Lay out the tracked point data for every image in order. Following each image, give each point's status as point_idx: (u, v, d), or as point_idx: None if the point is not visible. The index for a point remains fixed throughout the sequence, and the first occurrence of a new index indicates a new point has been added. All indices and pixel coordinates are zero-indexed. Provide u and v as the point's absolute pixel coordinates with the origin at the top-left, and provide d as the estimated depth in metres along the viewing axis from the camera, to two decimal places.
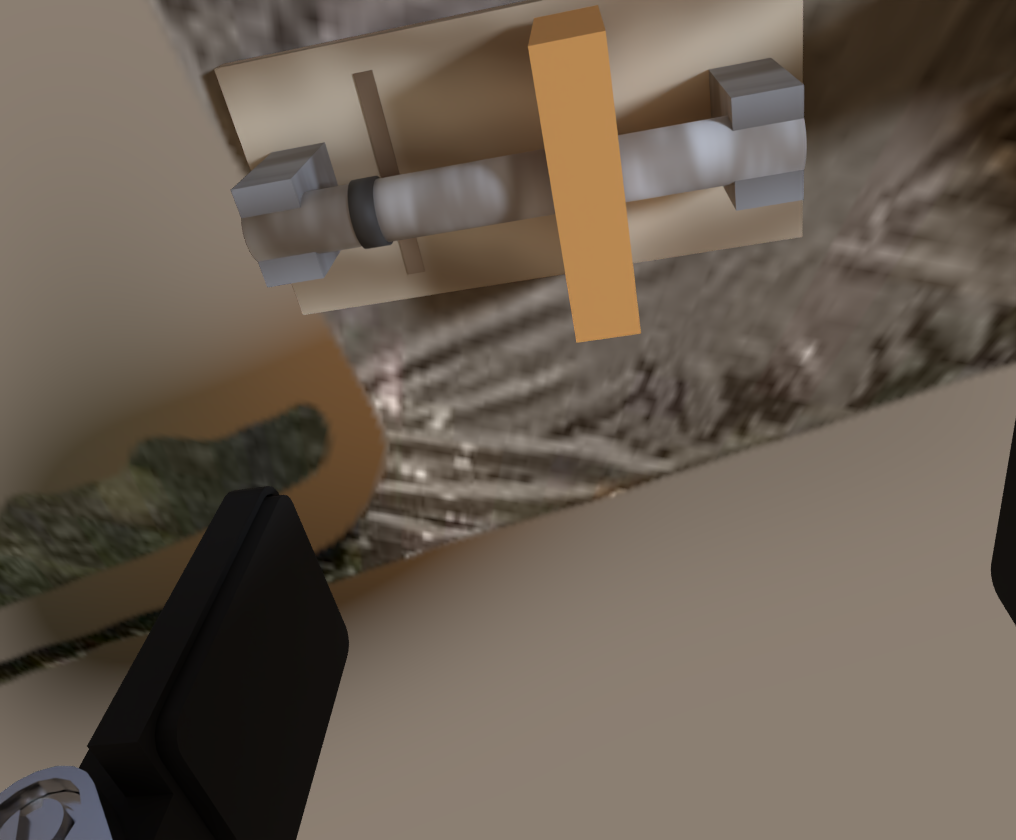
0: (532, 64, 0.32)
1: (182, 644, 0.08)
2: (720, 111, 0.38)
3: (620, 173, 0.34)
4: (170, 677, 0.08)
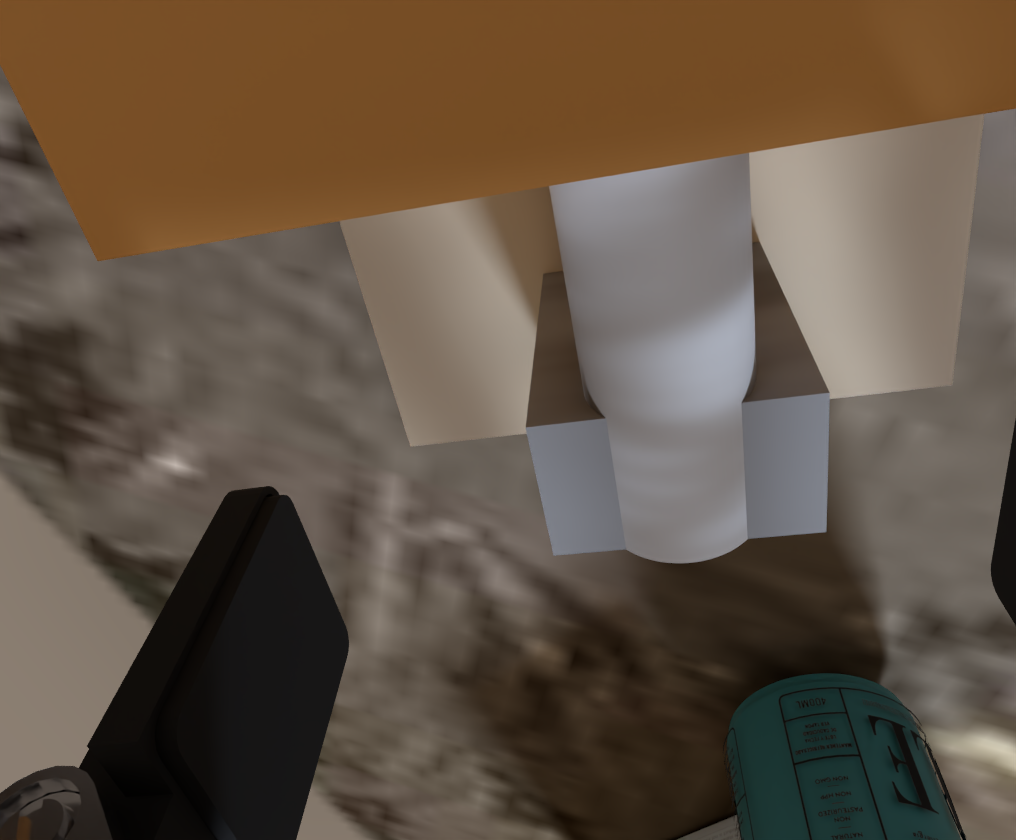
0: None
1: (182, 644, 0.08)
2: None
3: (760, 141, 0.08)
4: (170, 677, 0.08)
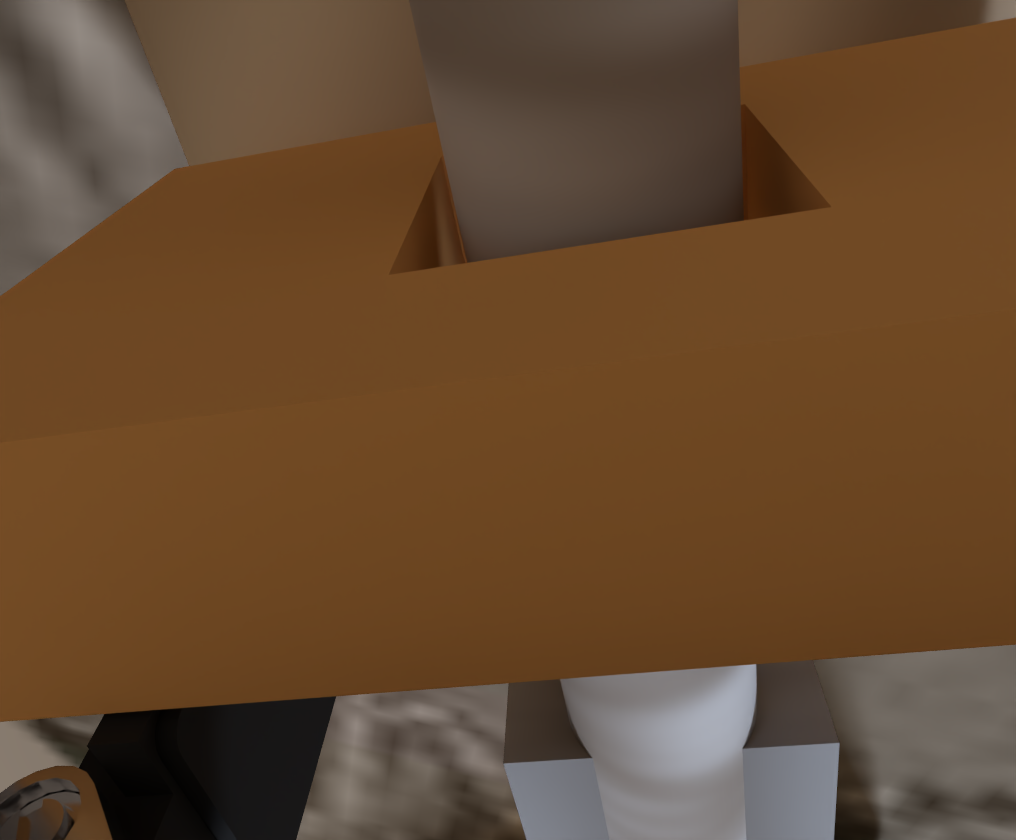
0: None
1: None
2: None
3: (783, 654, 0.07)
4: None
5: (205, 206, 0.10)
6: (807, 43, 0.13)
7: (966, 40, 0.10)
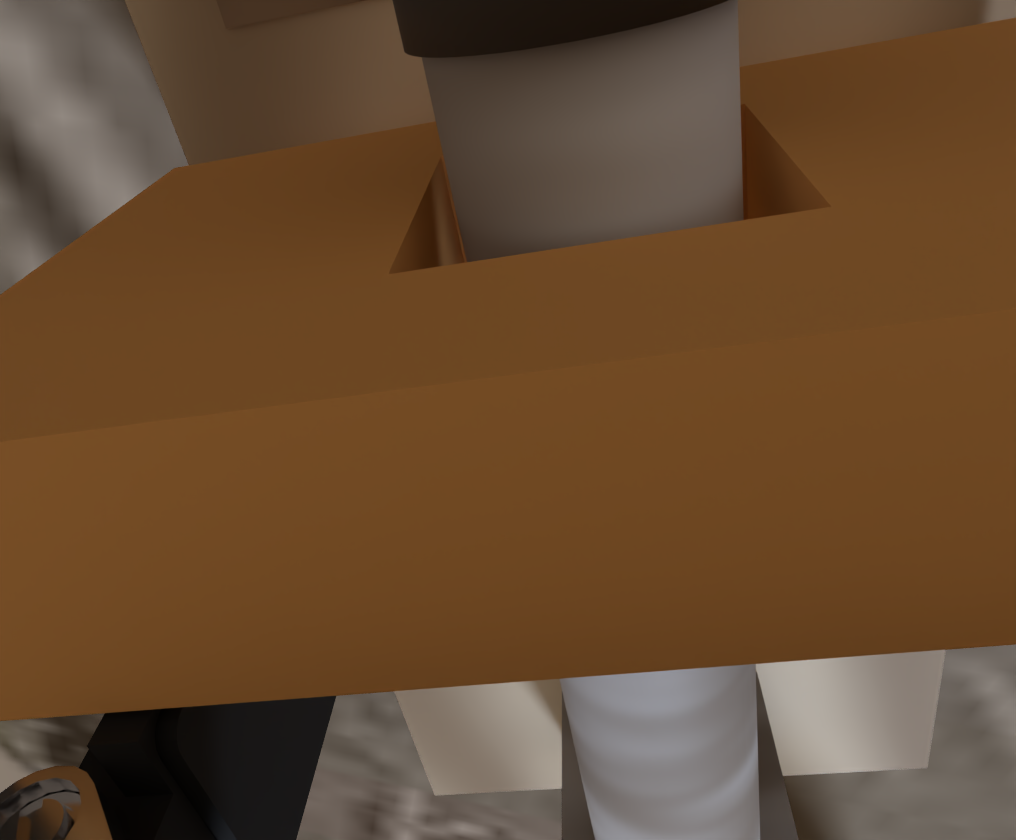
0: None
1: None
2: None
3: (782, 653, 0.07)
4: None
5: (205, 205, 0.10)
6: None
7: (966, 40, 0.10)
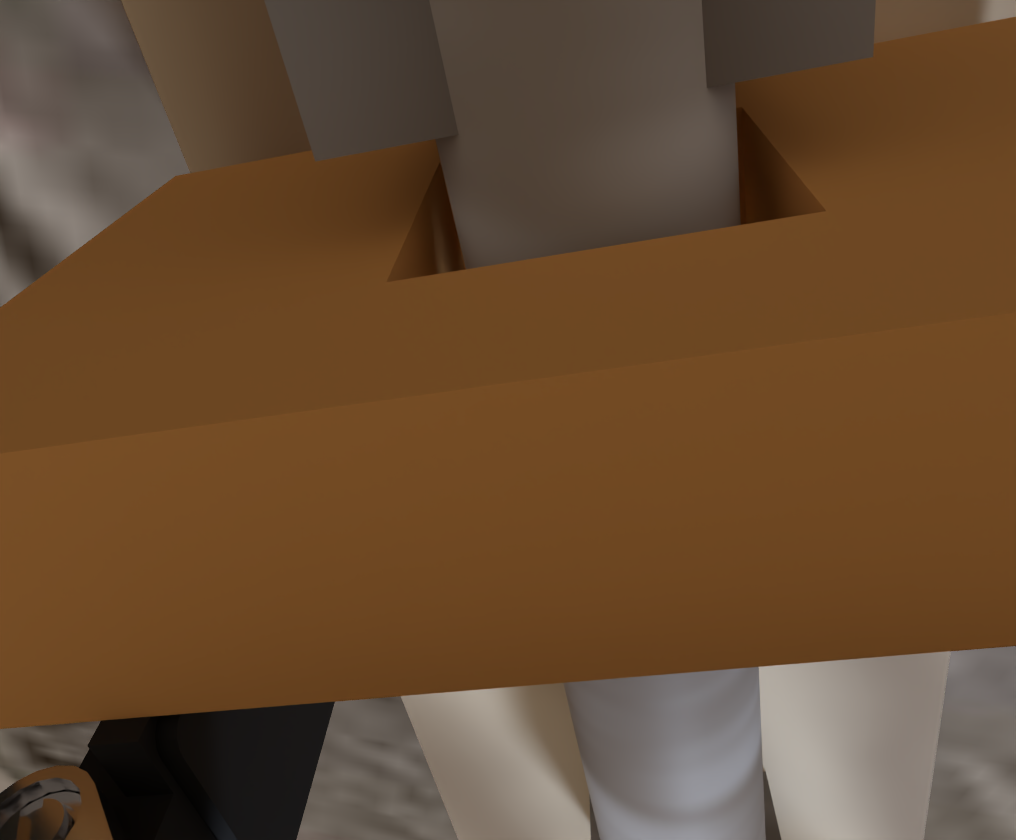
0: None
1: None
2: None
3: (782, 657, 0.07)
4: None
5: (205, 214, 0.11)
6: None
7: (963, 41, 0.10)
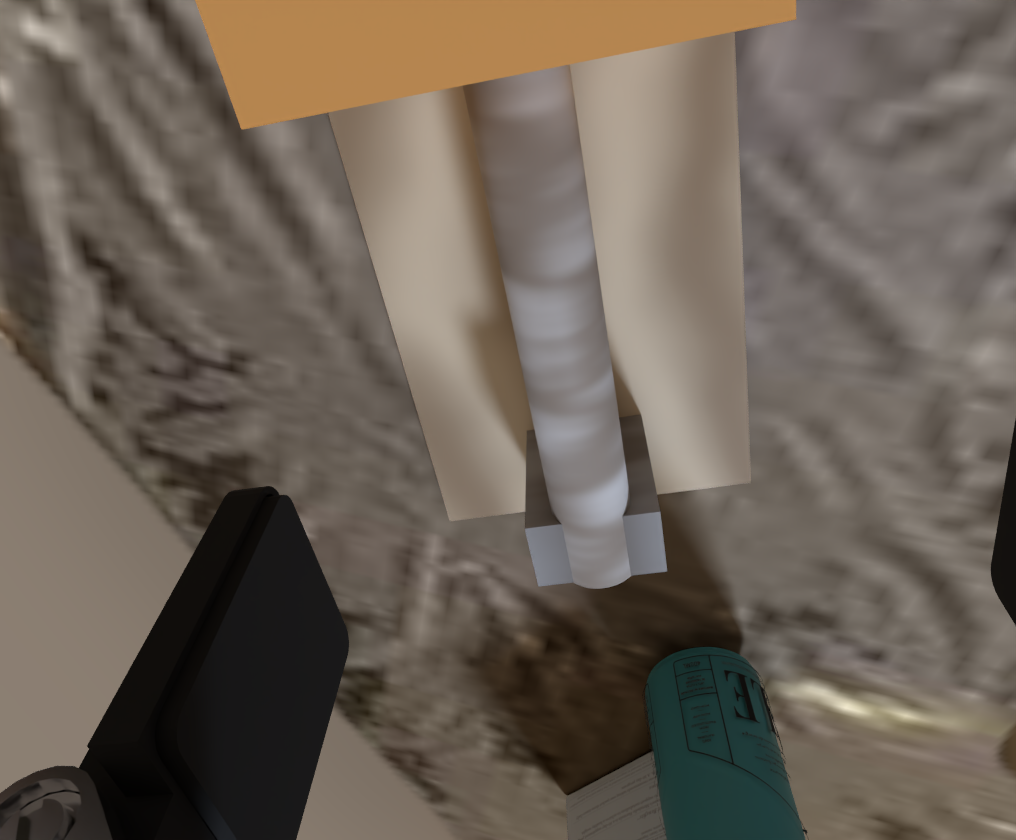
0: None
1: (182, 644, 0.08)
2: None
3: (550, 63, 0.19)
4: (170, 676, 0.08)
5: None
6: (645, 225, 0.30)
7: None
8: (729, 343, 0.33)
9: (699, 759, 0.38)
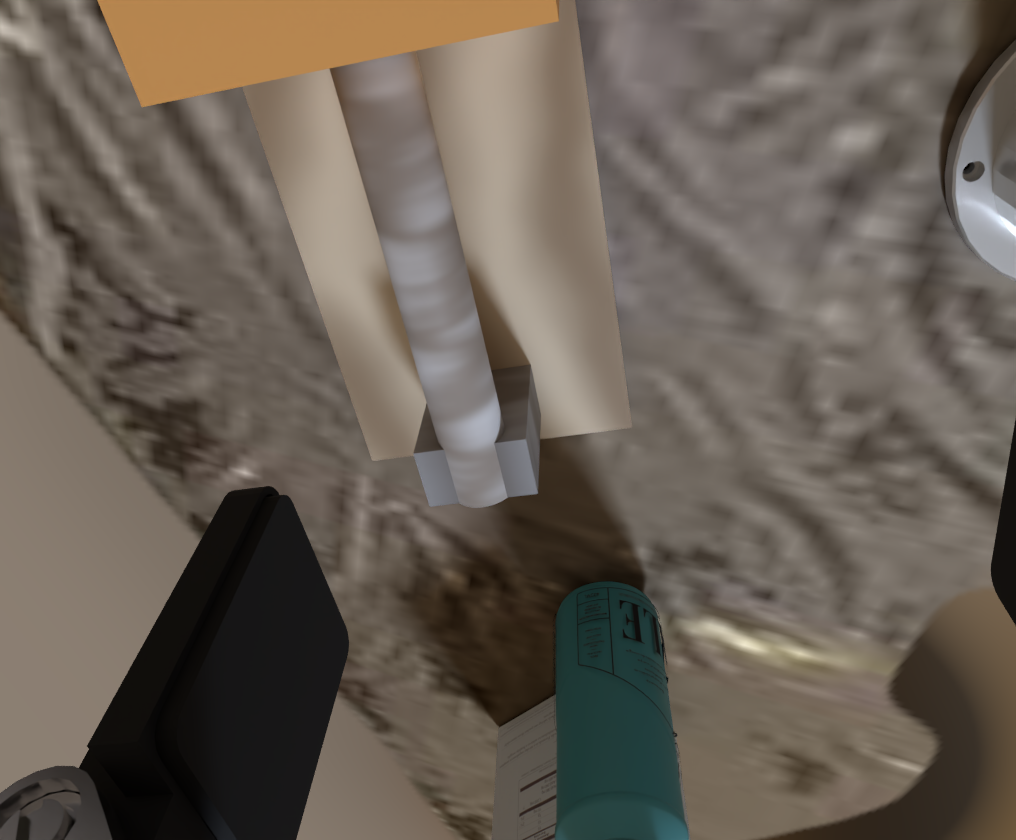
0: None
1: (182, 644, 0.08)
2: (501, 403, 0.38)
3: (374, 55, 0.24)
4: (169, 676, 0.08)
5: None
6: (519, 196, 0.36)
7: None
8: (601, 301, 0.38)
9: (586, 671, 0.43)
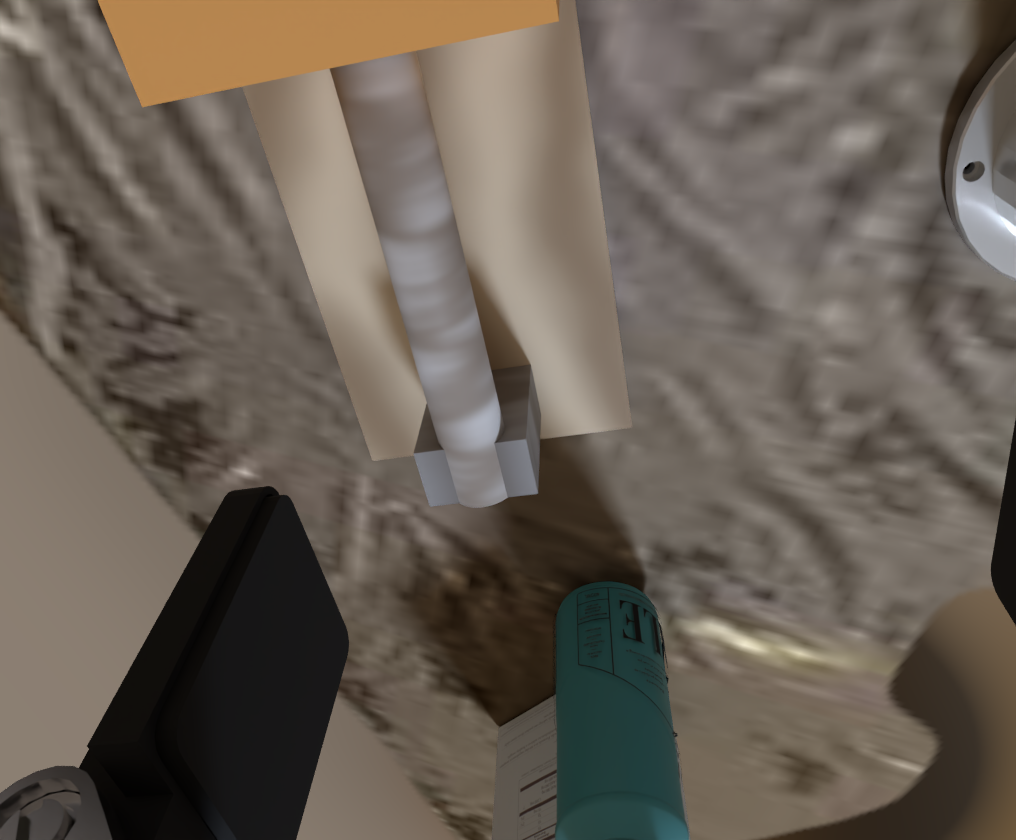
0: None
1: (182, 644, 0.08)
2: (501, 403, 0.38)
3: (375, 55, 0.24)
4: (170, 677, 0.08)
5: None
6: (519, 196, 0.36)
7: None
8: (601, 301, 0.38)
9: (586, 671, 0.43)
